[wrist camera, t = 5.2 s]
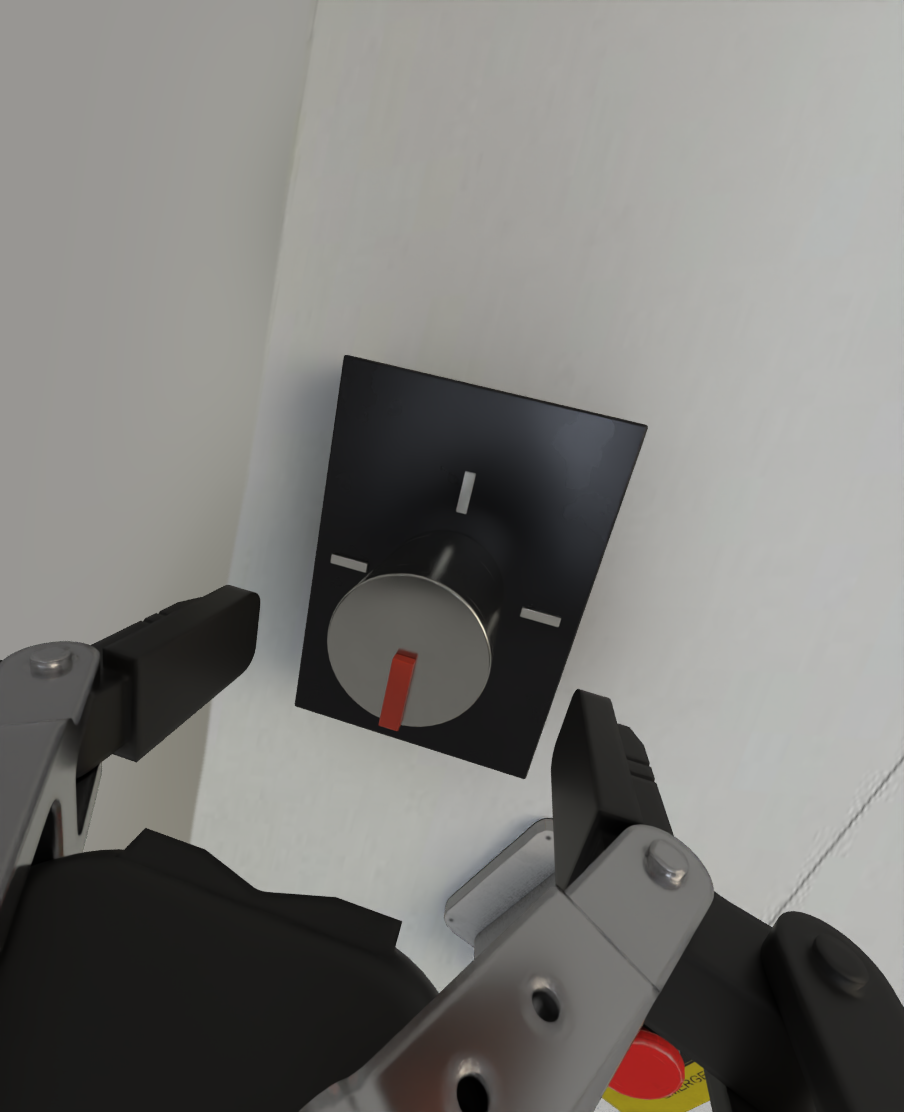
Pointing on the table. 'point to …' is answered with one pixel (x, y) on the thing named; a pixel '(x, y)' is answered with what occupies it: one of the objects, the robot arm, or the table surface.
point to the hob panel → (469, 533)
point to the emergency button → (498, 900)
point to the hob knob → (419, 631)
